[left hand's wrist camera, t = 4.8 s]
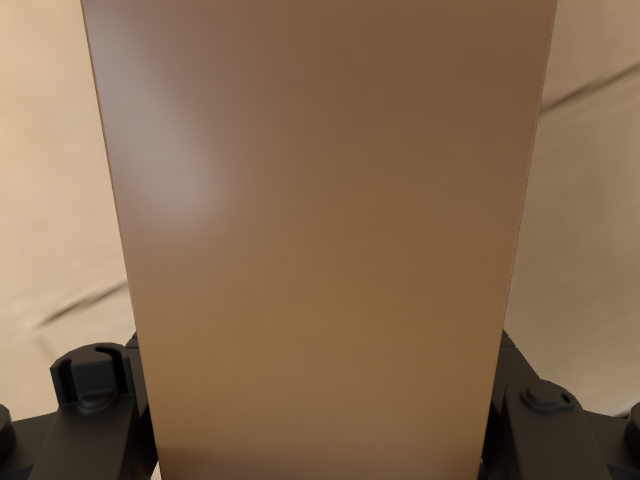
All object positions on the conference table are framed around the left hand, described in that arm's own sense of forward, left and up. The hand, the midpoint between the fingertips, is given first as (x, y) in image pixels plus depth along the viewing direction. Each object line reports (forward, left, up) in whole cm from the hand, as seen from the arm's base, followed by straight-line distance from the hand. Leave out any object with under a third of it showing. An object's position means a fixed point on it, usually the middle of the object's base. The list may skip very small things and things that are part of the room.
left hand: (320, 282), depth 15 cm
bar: (+20, +4, -1) cm, 20 cm away
